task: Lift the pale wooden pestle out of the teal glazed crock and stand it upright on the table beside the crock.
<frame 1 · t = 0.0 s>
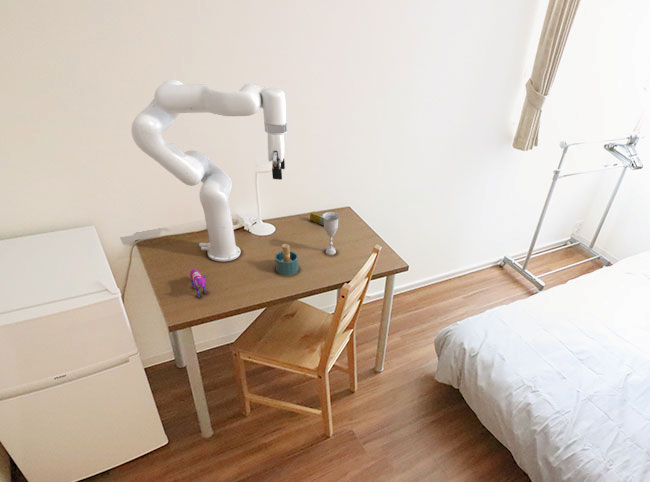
hand: (278, 173, 172), 37 cm above the table, tool pointing down, fingers open, 9 cm apart
chalice: (330, 253, 203), on the table
crock: (287, 270, 188), on the table
toy dog: (199, 290, 170), on the table
pestle: (287, 268, 188), point 1 cm above the table, touching crock
medication box: (321, 224, 222), on the table
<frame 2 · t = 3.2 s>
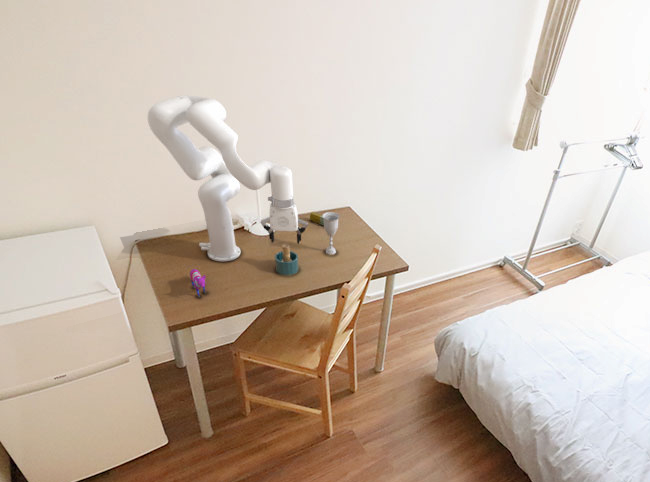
hand: (285, 241, 180), 14 cm above the table, tool pointing down, fingers open, 9 cm apart
nothing on the table moved.
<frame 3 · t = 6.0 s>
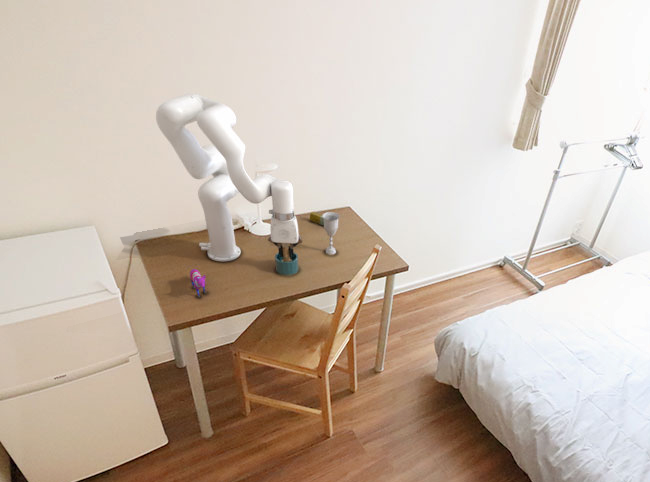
hand: (286, 255, 184), 7 cm above the table, tool pointing down, fingers closed on pestle, 2 cm apart
pestle: (287, 268, 188), point 1 cm above the table, touching crock, gripper
everything else where it was.
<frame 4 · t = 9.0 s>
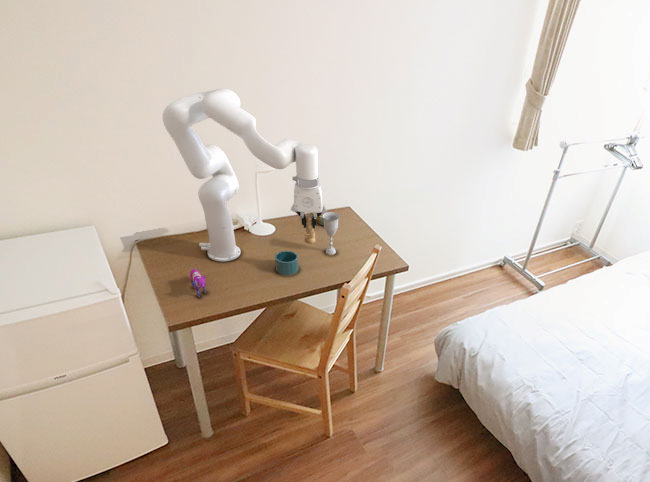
hand: (309, 226, 176), 22 cm above the table, tool pointing down, fingers closed on pestle, 2 cm apart
pestle: (310, 241, 180), point 15 cm above the table, touching gripper
everything else where it was.
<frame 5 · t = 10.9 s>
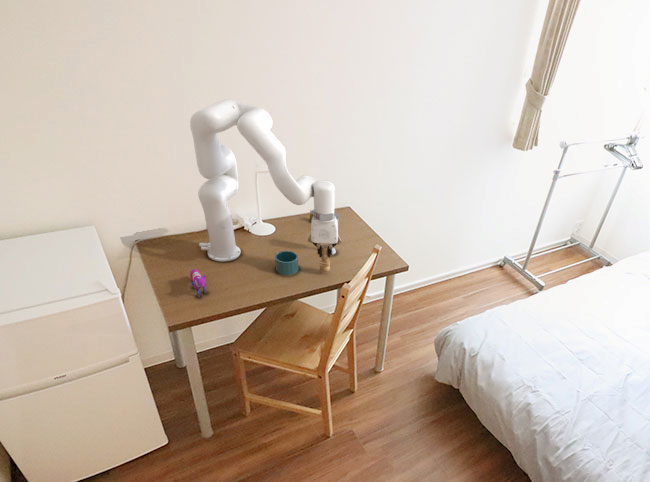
hand: (324, 255, 184), 9 cm above the table, tool pointing down, fingers closed on pestle, 2 cm apart
pestle: (324, 269, 188), point 3 cm above the table, touching gripper
everything else where it was.
when the fingers open (7 cm above the table, at t = 12.0 s): pestle stays where it is, on the table.
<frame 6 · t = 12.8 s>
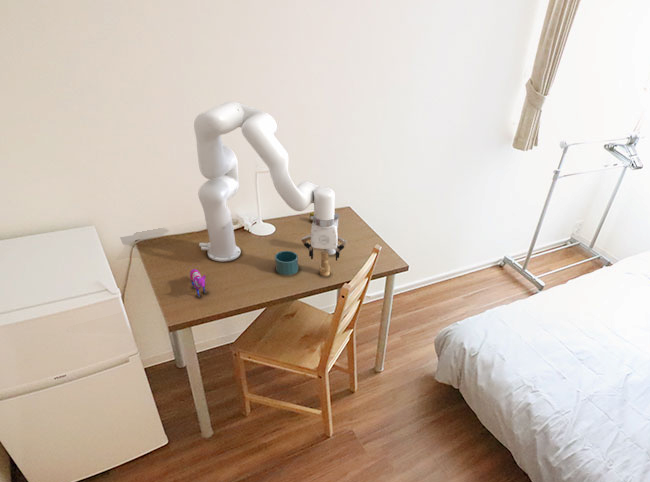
hand: (324, 258, 185), 8 cm above the table, tool pointing down, fingers open, 9 cm apart
pestle: (324, 274, 190), on the table
everything else where it was.
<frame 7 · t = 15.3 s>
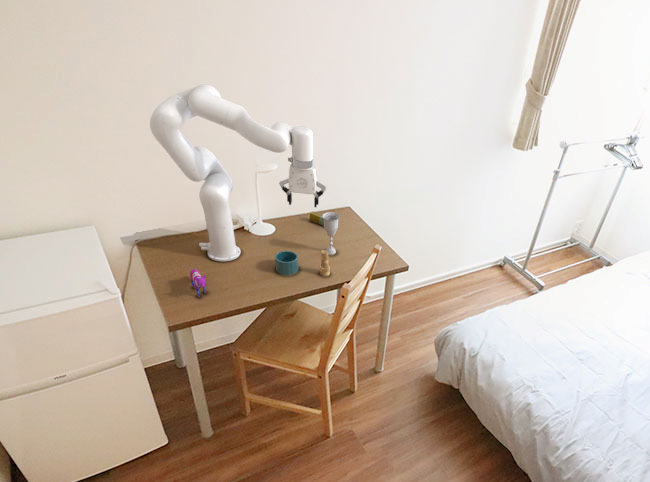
hand: (303, 204, 181), 25 cm above the table, tool pointing down, fingers open, 9 cm apart
nothing on the table moved.
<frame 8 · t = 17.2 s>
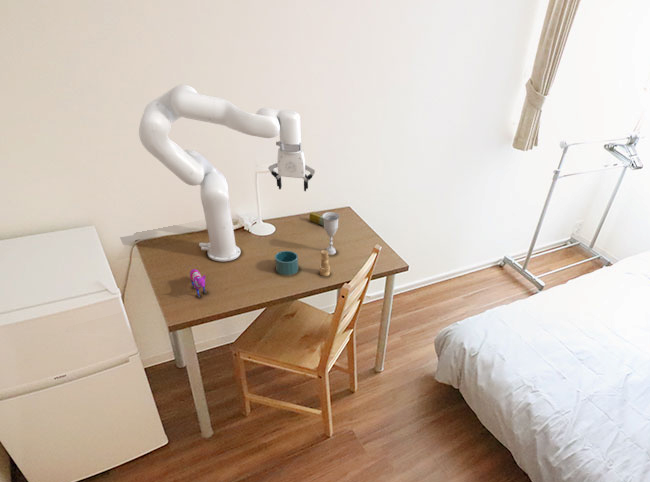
hand: (292, 188, 183), 28 cm above the table, tool pointing down, fingers open, 9 cm apart
nothing on the table moved.
at the end: pestle inside the target area (0.1 cm from its centre), on the table; pestle tilted 0°; the gripper is holding nothing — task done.
